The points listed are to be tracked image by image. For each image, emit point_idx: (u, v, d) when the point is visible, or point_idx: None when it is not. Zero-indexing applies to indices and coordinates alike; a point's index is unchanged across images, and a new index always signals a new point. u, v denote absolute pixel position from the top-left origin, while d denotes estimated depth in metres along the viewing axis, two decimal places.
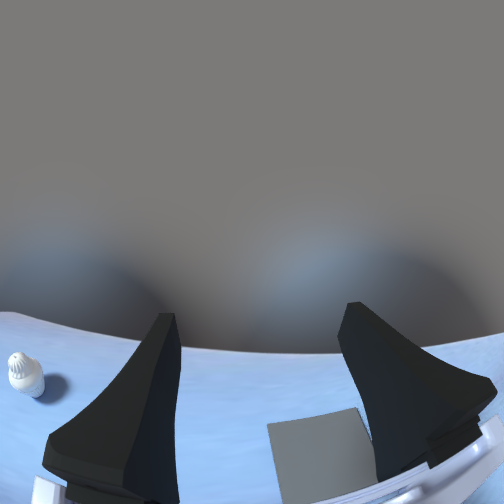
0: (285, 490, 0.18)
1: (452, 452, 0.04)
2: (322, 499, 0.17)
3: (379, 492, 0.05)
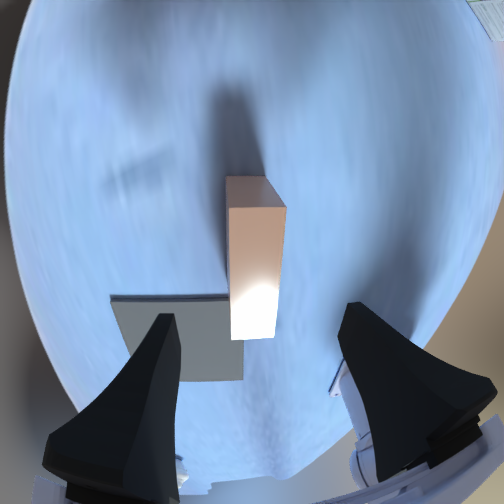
0: (222, 378, 0.26)
1: (452, 452, 0.04)
2: (242, 358, 0.25)
3: (379, 491, 0.05)
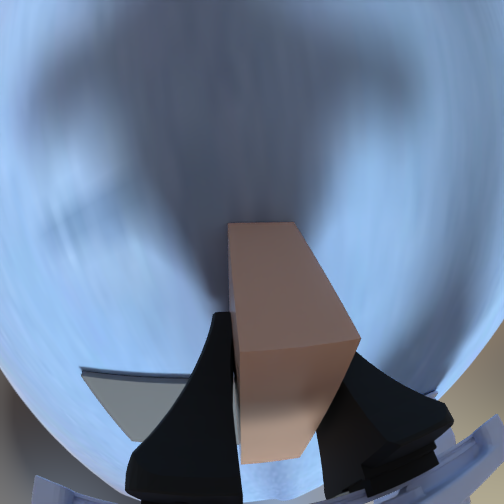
0: None
1: (395, 482, 0.04)
2: None
3: None
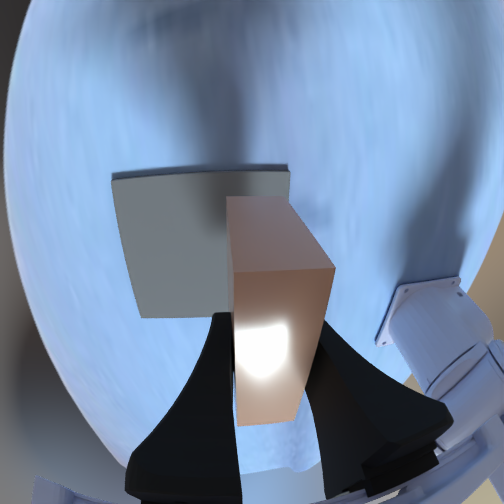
0: None
1: (395, 482, 0.04)
2: None
3: None
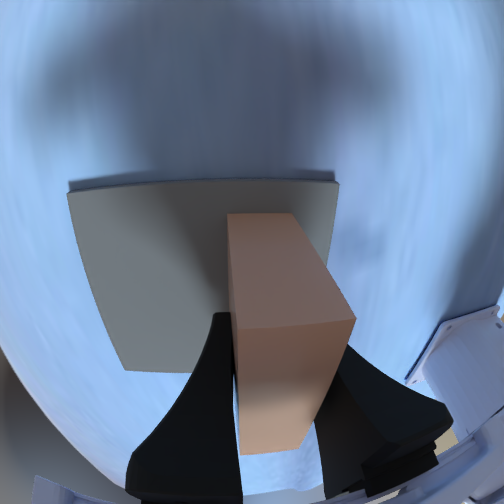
0: None
1: (395, 482, 0.04)
2: None
3: None
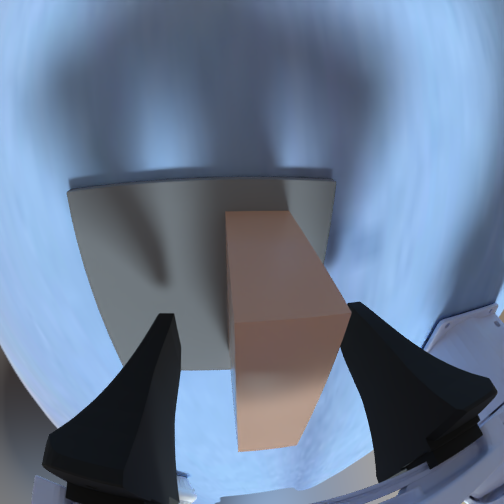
0: None
1: (452, 452, 0.04)
2: None
3: (379, 492, 0.05)
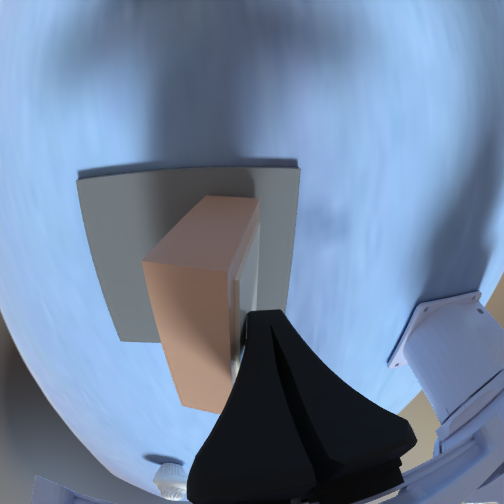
0: None
1: (351, 499, 0.04)
2: (286, 293, 0.16)
3: None
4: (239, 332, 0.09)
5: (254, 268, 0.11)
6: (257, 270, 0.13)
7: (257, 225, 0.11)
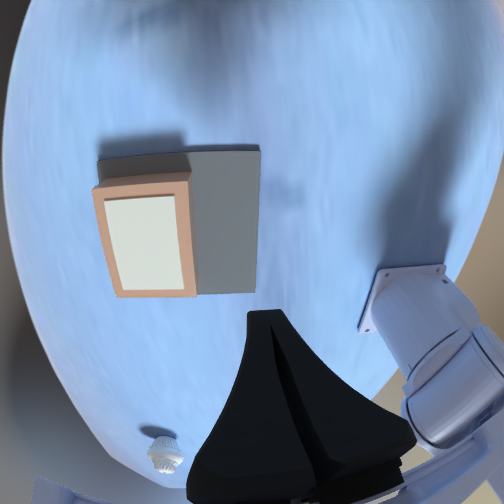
0: (228, 289, 0.21)
1: (351, 499, 0.04)
2: (255, 250, 0.20)
3: None
4: (110, 234, 0.15)
5: (155, 222, 0.15)
6: (173, 233, 0.16)
7: (168, 196, 0.15)
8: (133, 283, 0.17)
